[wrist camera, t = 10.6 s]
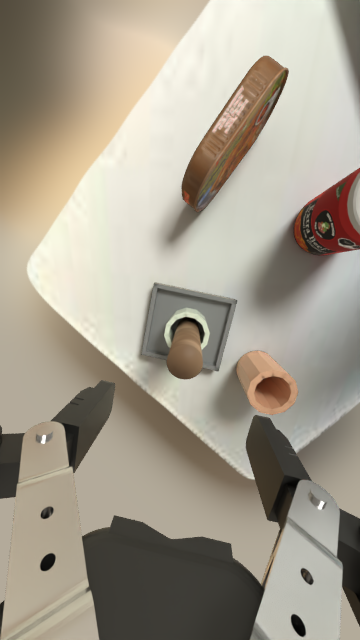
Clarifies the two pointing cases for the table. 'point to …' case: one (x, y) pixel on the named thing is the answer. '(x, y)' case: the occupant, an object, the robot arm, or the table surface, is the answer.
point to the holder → (192, 314)
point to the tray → (175, 298)
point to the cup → (266, 383)
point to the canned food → (331, 219)
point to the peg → (185, 350)
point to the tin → (233, 132)
